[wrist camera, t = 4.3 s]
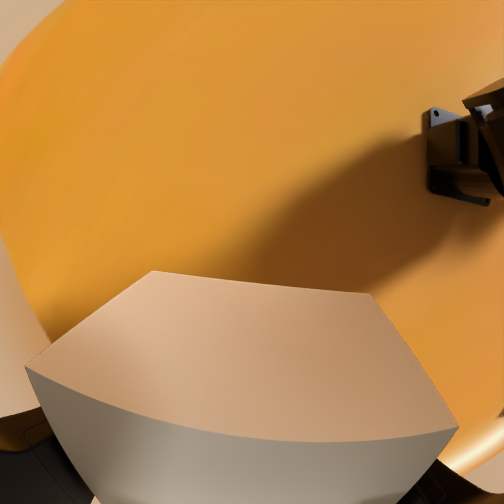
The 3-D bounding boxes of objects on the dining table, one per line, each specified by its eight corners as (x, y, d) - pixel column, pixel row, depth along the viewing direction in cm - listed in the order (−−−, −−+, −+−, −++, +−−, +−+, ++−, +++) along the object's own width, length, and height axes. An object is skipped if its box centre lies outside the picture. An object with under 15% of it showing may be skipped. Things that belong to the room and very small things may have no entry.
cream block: (152, 270, 9) (24, 365, 3) (370, 293, 9) (459, 426, 3) (174, 464, 12) (141, 547, 6) (305, 481, 11) (305, 571, 5)
